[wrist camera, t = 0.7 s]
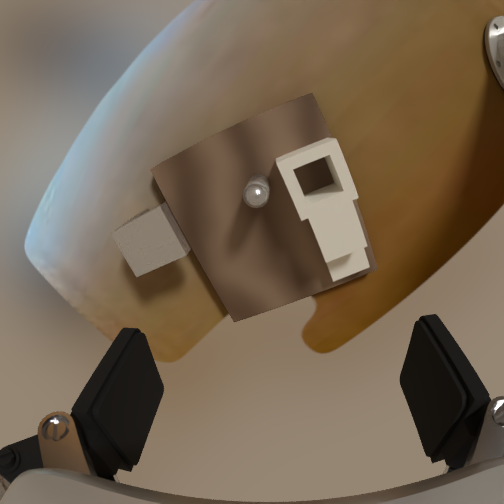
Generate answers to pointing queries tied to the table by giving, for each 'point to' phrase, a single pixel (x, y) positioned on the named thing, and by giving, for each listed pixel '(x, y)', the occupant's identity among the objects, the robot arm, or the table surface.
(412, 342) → the robot arm
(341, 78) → the table surface
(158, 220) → the block
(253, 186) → the cylinder
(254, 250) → the board
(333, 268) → the link
